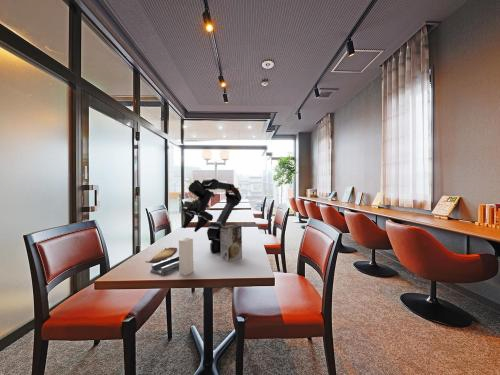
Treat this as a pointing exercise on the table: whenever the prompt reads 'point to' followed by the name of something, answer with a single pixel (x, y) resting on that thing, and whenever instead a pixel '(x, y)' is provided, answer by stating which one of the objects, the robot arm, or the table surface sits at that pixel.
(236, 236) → the coffee box
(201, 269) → the table surface
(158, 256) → the parchment
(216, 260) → the table surface
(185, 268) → the cream rectangular block
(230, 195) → the robot arm
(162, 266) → the grey rectangular tray
